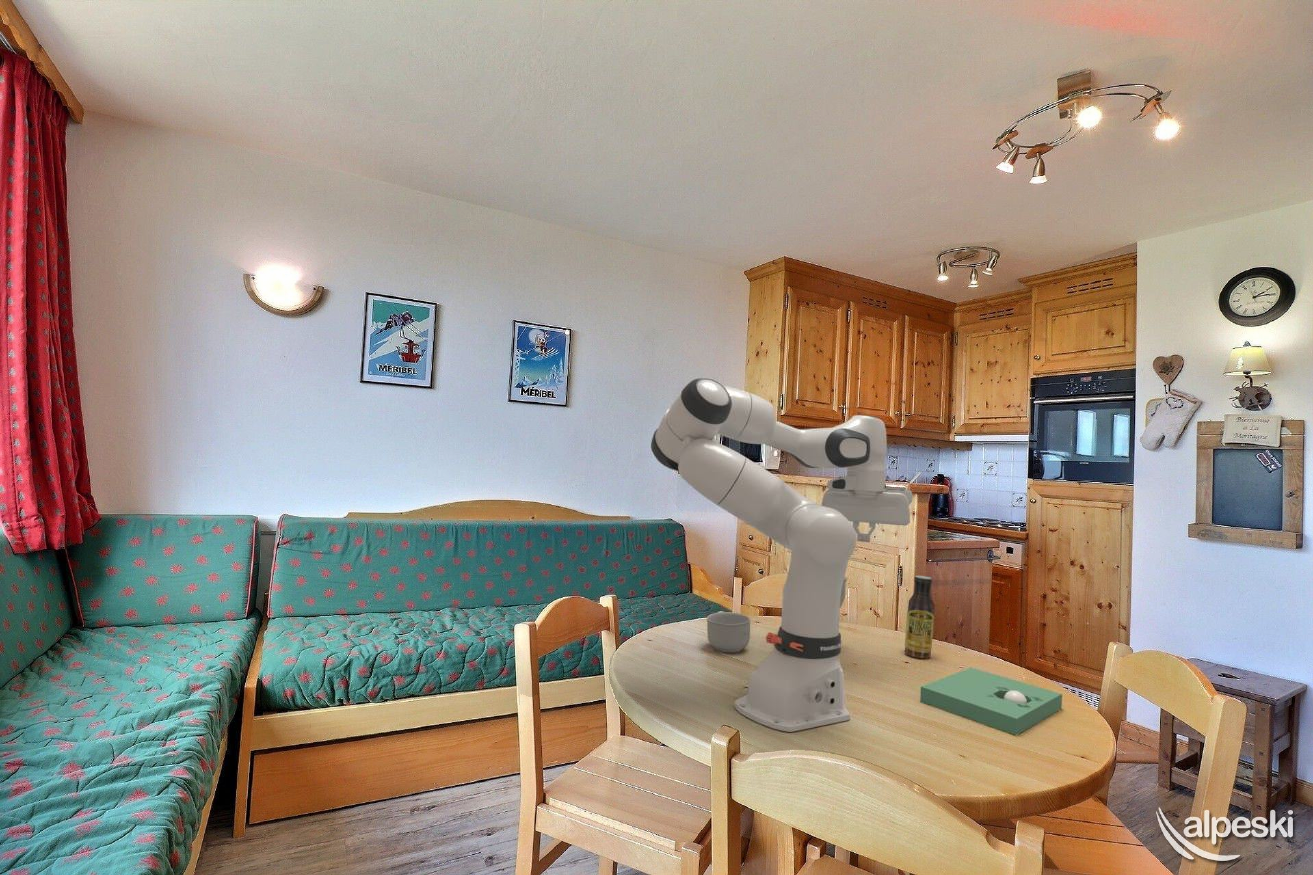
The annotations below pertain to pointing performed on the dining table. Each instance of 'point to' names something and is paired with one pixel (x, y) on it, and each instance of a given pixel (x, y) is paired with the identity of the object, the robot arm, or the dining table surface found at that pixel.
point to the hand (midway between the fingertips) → (863, 541)
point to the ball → (1015, 697)
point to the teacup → (728, 631)
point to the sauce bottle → (920, 620)
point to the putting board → (991, 700)
